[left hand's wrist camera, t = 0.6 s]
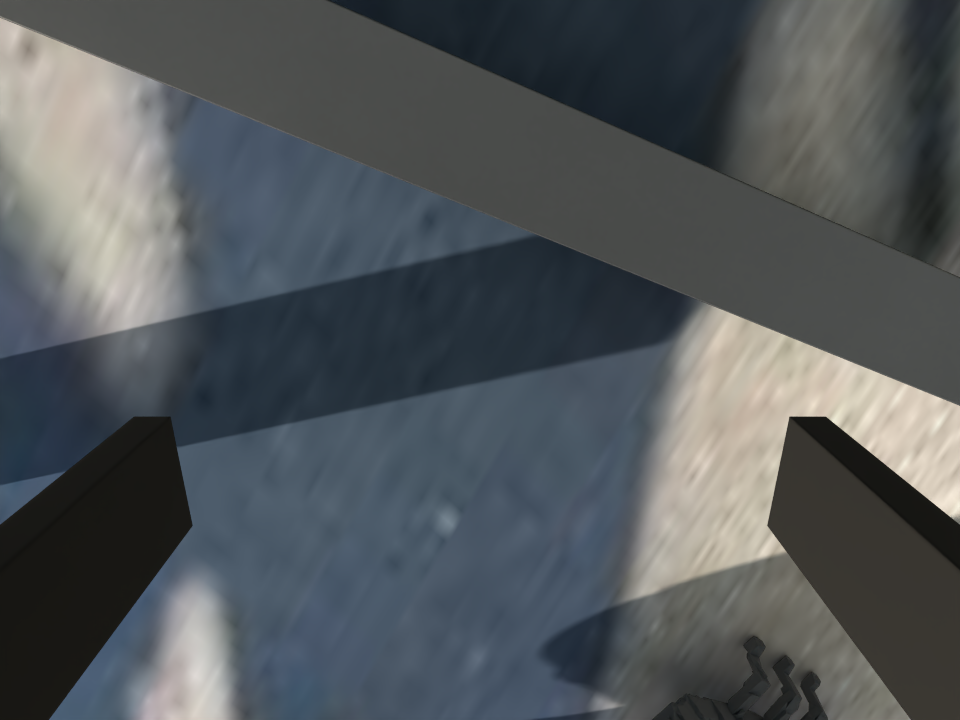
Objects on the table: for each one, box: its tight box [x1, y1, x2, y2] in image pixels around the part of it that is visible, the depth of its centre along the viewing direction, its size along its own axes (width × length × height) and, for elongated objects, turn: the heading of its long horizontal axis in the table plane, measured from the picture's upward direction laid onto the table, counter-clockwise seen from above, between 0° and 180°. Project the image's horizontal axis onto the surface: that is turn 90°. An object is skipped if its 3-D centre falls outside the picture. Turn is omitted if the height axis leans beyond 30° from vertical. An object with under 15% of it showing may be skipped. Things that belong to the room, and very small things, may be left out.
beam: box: [0, 0, 960, 406], centre depth 30 cm, size 51×6×8 cm, turn 68°
